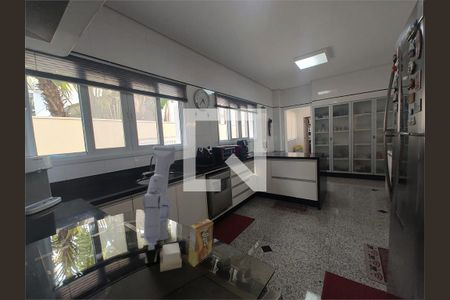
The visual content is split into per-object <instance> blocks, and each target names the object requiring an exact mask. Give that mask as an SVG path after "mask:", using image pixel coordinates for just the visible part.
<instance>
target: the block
mask: <svg viewBox="0 0 450 300" xmlns="http://www.w3.org/2000/svg"><path fill="white" fill-rule="evenodd" d="M157 253H158V252H157ZM157 253H156V256H155V260H154V262H153V263H155V262H157V259H158V258H157V256H158V254H157ZM144 255H145V258H144V259H145V260H144V261H145V262H144V263H145V264H149V263H148V262H147V257H146V254H144Z"/></svg>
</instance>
